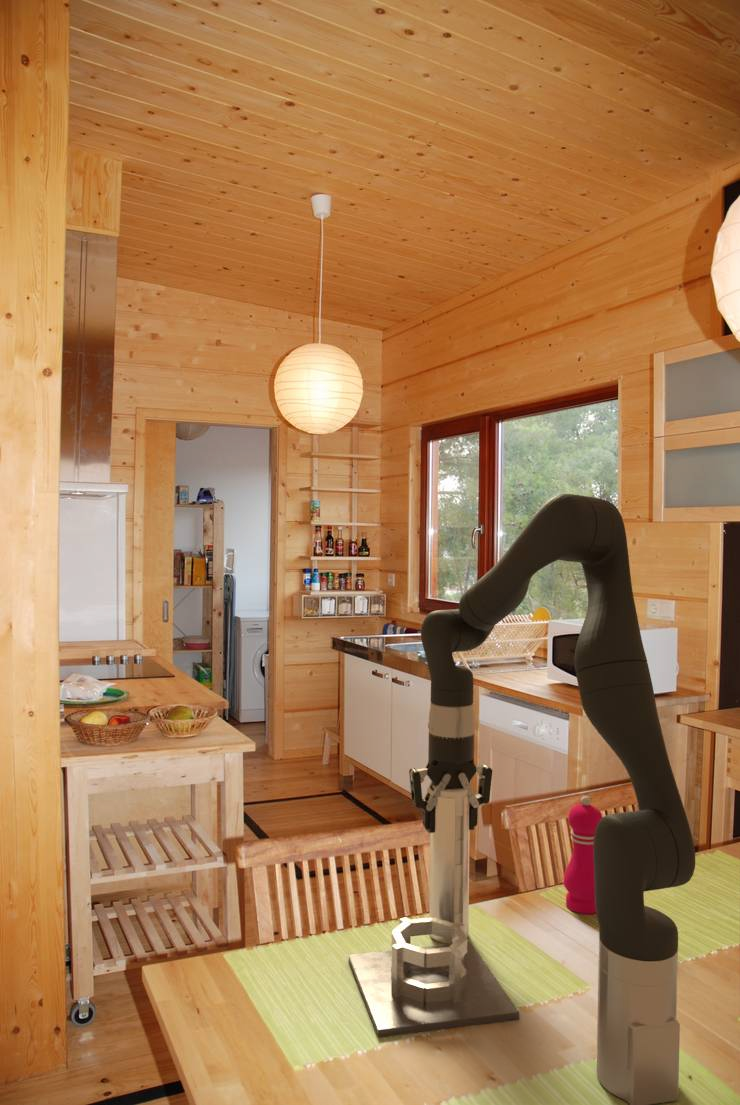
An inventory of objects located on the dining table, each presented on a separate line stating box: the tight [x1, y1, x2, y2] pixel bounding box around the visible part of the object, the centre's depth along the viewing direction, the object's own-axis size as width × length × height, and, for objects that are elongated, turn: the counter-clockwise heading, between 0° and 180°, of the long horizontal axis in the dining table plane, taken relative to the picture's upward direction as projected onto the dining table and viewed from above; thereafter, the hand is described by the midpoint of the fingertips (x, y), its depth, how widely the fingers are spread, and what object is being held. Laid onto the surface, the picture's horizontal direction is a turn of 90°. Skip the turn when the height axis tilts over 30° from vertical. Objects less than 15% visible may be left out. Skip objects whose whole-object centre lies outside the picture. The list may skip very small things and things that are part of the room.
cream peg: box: [428, 786, 471, 944], centre depth 140 cm, size 6×6×25 cm
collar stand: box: [348, 916, 520, 1038], centre depth 124 cm, size 20×20×8 cm
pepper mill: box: [563, 795, 603, 915], centre depth 151 cm, size 7×7×20 cm
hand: (450, 829), depth 140 cm, fingers closed on cream peg, 6 cm apart
